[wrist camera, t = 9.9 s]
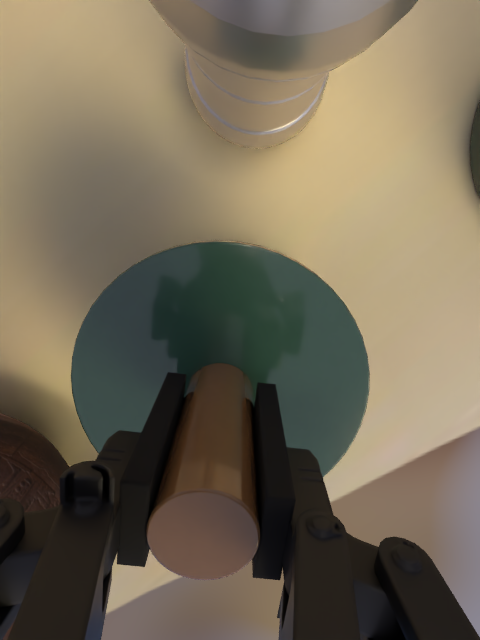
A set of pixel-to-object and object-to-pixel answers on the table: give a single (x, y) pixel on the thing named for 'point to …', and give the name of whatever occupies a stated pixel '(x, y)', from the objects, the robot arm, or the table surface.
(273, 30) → the silver metal flask
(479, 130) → the crock
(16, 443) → the wooden sphere
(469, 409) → the table surface
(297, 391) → the crock lid
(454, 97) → the table surface
